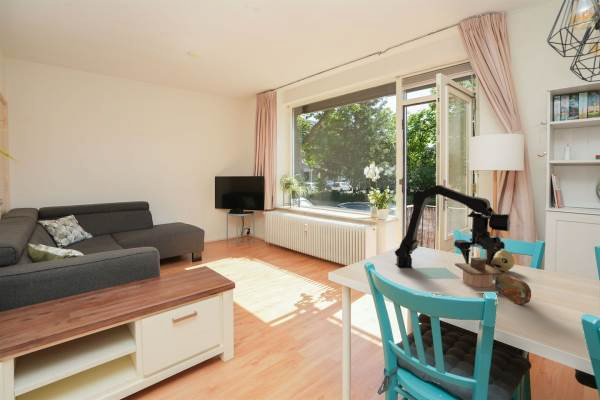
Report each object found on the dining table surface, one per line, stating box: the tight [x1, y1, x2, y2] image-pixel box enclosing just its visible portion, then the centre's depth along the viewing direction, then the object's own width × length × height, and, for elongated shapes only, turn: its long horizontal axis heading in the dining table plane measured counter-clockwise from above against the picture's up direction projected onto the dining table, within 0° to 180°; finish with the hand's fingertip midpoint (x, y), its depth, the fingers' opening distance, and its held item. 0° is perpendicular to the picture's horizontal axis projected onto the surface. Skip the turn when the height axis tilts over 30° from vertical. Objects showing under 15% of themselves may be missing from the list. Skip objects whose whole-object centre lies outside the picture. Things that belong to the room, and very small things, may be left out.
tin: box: [494, 273, 532, 305], centre depth 116 cm, size 15×3×8 cm, turn 5°
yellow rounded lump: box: [491, 249, 515, 274], centre depth 147 cm, size 10×12×11 cm
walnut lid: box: [454, 257, 504, 276], centre depth 132 cm, size 13×13×5 cm
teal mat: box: [415, 267, 462, 280], centre depth 144 cm, size 15×15×1 cm
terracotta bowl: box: [462, 270, 494, 288], centre depth 132 cm, size 11×11×6 cm
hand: (477, 263), depth 132 cm, fingers open, 9 cm apart
